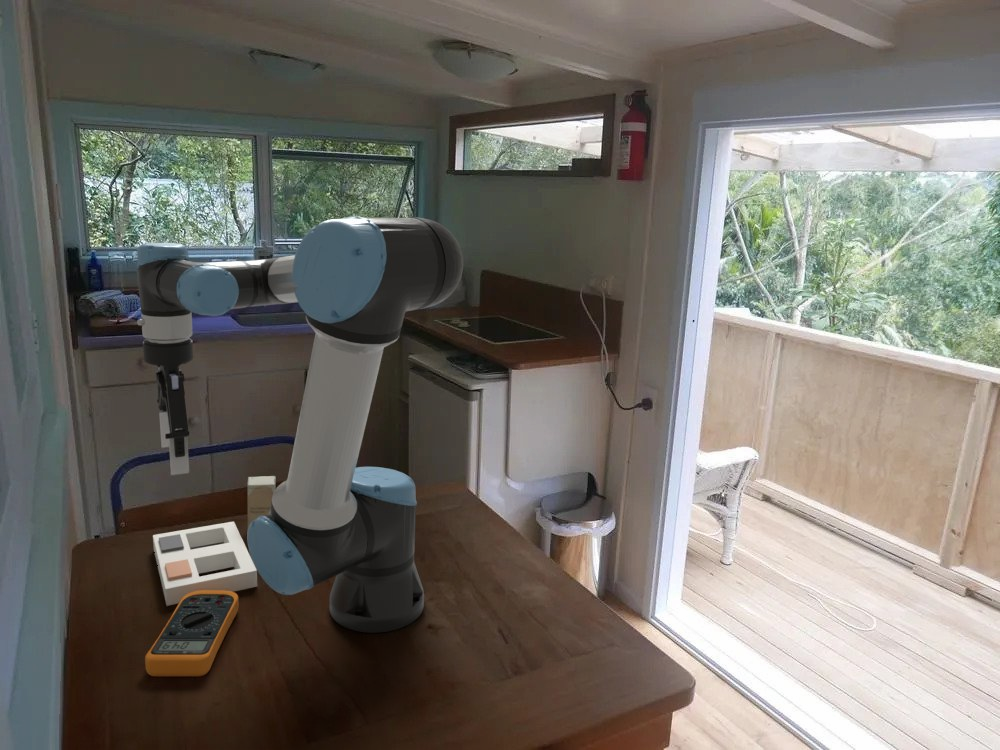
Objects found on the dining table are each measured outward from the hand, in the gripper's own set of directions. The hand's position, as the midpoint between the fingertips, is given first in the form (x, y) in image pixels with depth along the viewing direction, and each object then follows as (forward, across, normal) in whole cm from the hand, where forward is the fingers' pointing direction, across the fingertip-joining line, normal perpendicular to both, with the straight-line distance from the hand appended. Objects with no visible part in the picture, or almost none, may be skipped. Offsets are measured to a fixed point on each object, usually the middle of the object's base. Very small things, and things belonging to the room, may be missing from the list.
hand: (174, 459), depth 127 cm
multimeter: (+19, +26, -1) cm, 32 cm away
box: (+19, -4, +15) cm, 25 cm away
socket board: (+19, +5, +3) cm, 20 cm away
